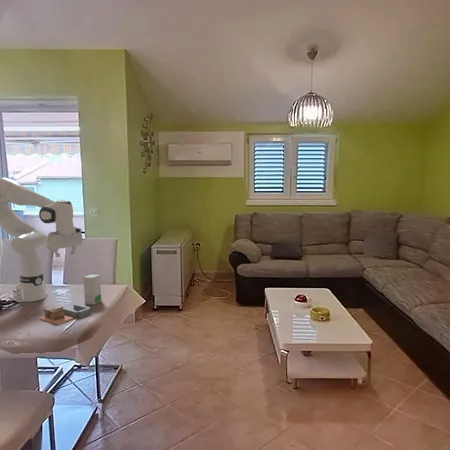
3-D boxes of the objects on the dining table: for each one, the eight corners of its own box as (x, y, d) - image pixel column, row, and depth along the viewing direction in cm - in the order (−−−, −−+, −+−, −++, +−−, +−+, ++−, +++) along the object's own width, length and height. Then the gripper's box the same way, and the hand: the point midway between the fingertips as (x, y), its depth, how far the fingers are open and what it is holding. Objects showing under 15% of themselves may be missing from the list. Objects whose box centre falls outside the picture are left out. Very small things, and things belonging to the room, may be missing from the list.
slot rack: (61, 314, 218) (61, 308, 218) (75, 309, 226) (75, 303, 225) (77, 318, 212) (77, 312, 211) (91, 313, 219) (91, 307, 219)
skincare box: (94, 305, 233) (93, 277, 231) (83, 304, 234) (82, 277, 232) (101, 300, 241) (100, 274, 239) (91, 299, 242) (90, 273, 240)
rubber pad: (40, 319, 210) (39, 318, 210) (55, 314, 218) (55, 312, 217) (57, 324, 203) (57, 323, 203) (73, 319, 210) (73, 317, 210)
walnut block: (44, 316, 212) (44, 305, 212) (53, 313, 216) (53, 303, 215) (55, 320, 206) (54, 309, 205) (64, 317, 210) (64, 307, 209)
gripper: (51, 233, 212) (52, 259, 214) (84, 228, 230) (84, 253, 232) (43, 231, 216) (44, 258, 218) (76, 227, 233) (76, 251, 235)
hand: (65, 255), depth 225 cm, fingers open, 8 cm apart
